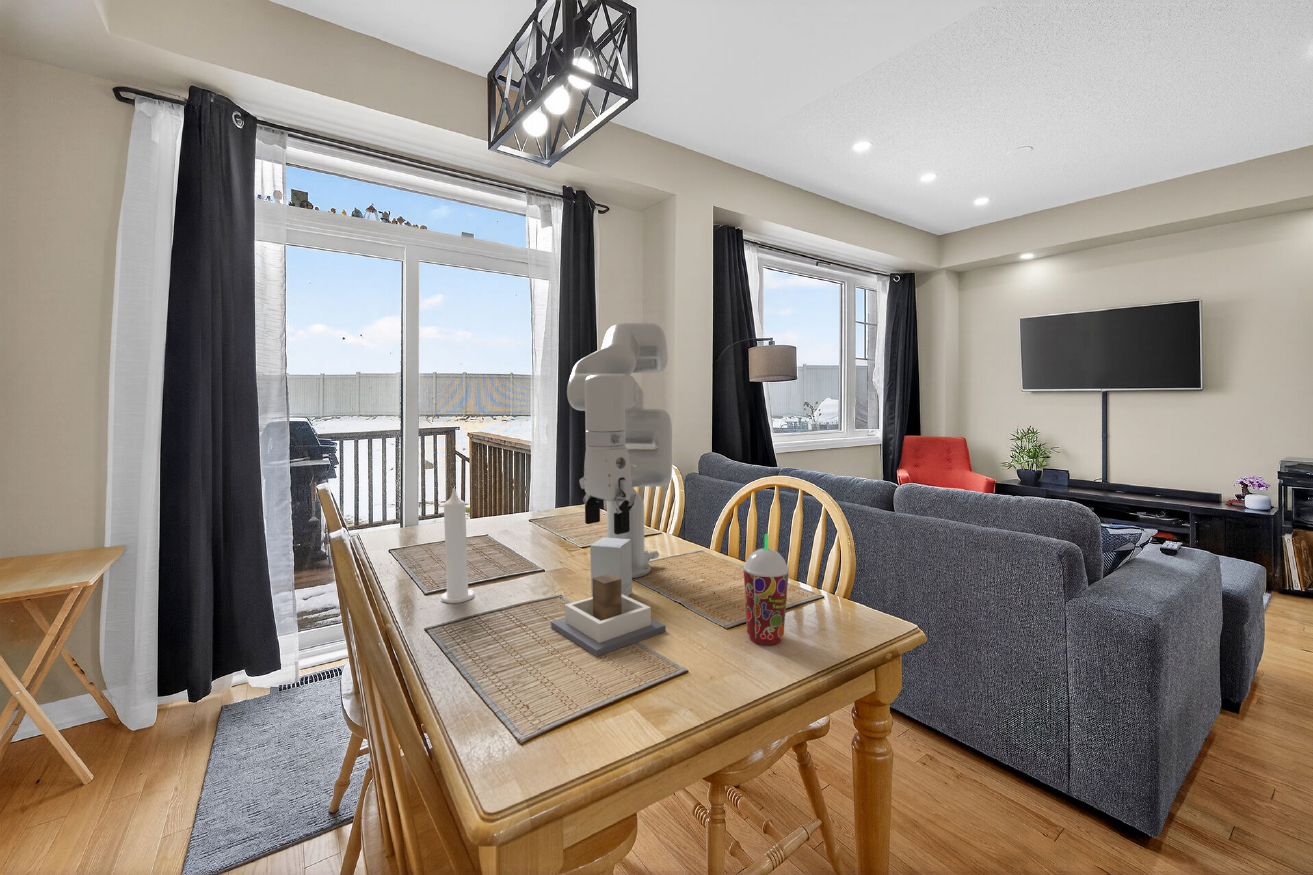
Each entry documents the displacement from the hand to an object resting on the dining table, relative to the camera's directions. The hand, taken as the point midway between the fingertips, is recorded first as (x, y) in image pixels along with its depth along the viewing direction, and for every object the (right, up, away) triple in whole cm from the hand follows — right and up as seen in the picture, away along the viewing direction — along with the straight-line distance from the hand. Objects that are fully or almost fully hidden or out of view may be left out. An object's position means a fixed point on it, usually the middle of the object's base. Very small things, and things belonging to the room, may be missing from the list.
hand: (606, 527), depth 109 cm
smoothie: (+30, -21, -3) cm, 36 cm away
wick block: (0, -19, +1) cm, 19 cm away
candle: (-35, -19, +19) cm, 44 cm away
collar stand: (0, -20, +1) cm, 20 cm away
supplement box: (-1, -19, +19) cm, 27 cm away
